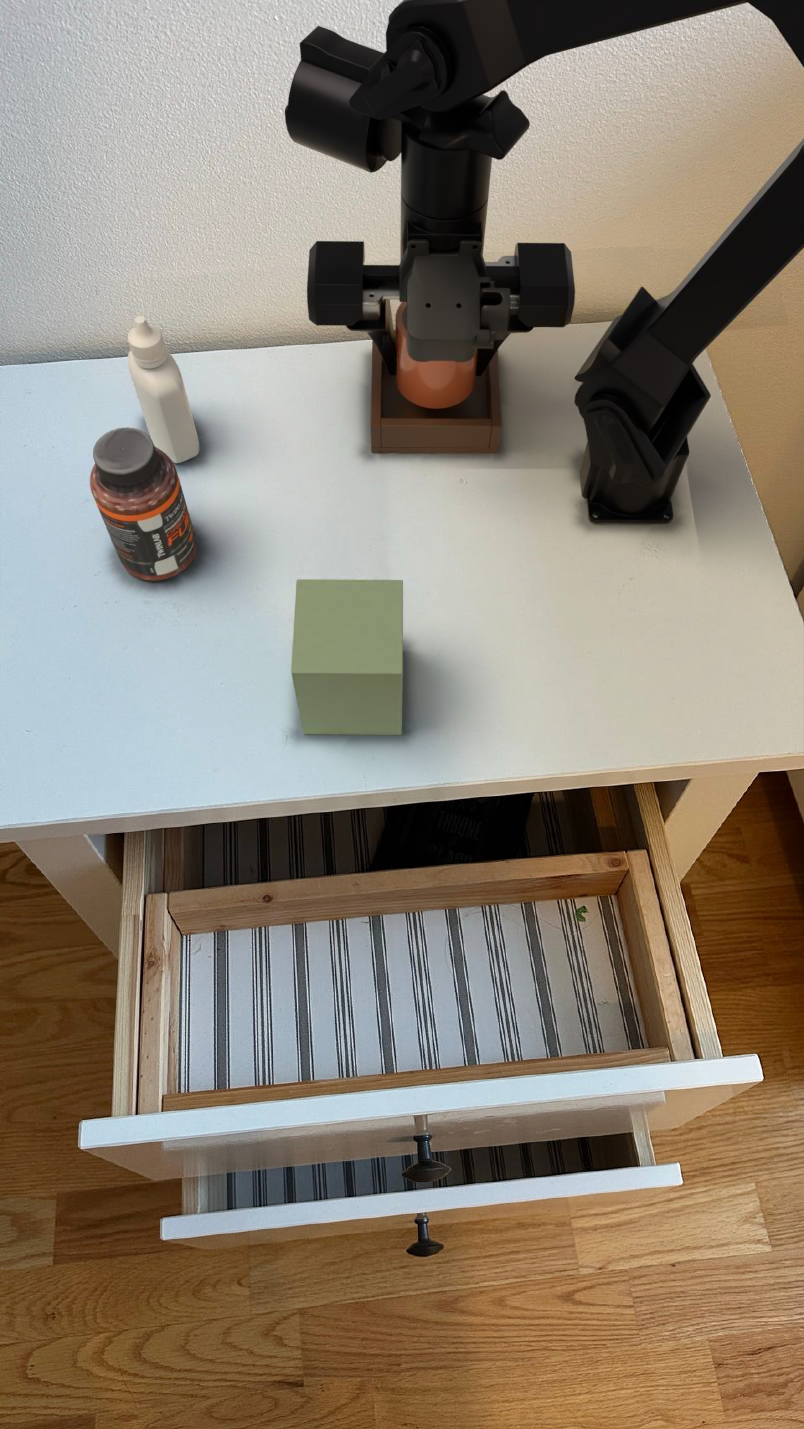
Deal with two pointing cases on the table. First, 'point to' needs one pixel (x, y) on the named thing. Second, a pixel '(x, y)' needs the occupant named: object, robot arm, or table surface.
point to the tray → (434, 417)
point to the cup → (430, 373)
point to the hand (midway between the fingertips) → (435, 372)
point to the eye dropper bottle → (161, 393)
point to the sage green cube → (348, 656)
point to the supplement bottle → (142, 505)
